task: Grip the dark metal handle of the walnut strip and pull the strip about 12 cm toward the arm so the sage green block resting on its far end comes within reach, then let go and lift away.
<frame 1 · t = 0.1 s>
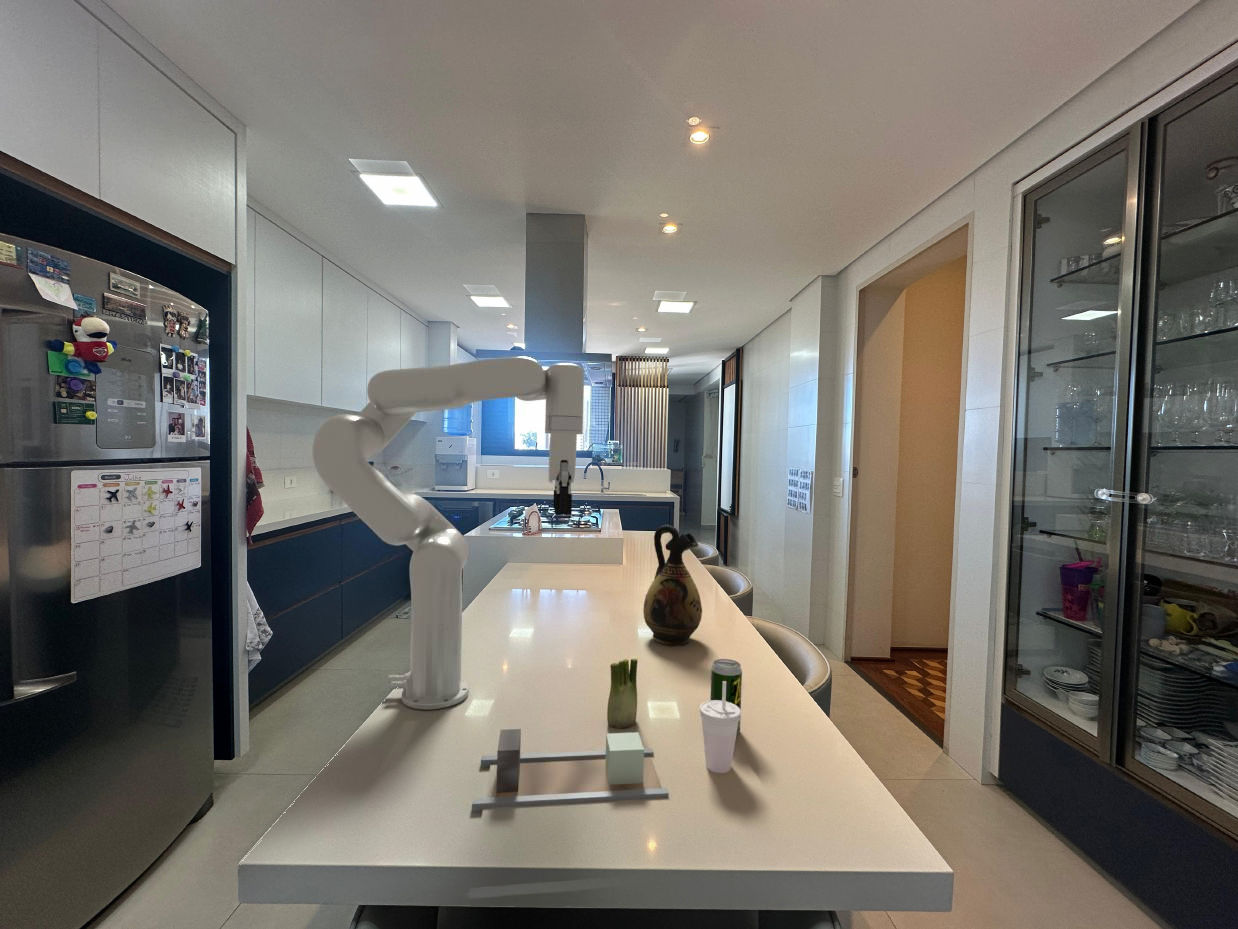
hand: (562, 511, 113), 37 cm above the worktop, tool pointing down, fingers open, 9 cm apart
block: (623, 774, 84), point 1 cm above the worktop, touching strip
strip: (577, 758, 83), point 3 cm above the worktop, slide at 0.0 cm, touching block
smoothie: (718, 771, 87), on the worktop
lane rails: (570, 781, 83), on the worktop
ceramic jug: (669, 639, 149), on the worktop
fennel bulb: (622, 727, 101), on the worktop
beer can: (724, 732, 100), on the worktop
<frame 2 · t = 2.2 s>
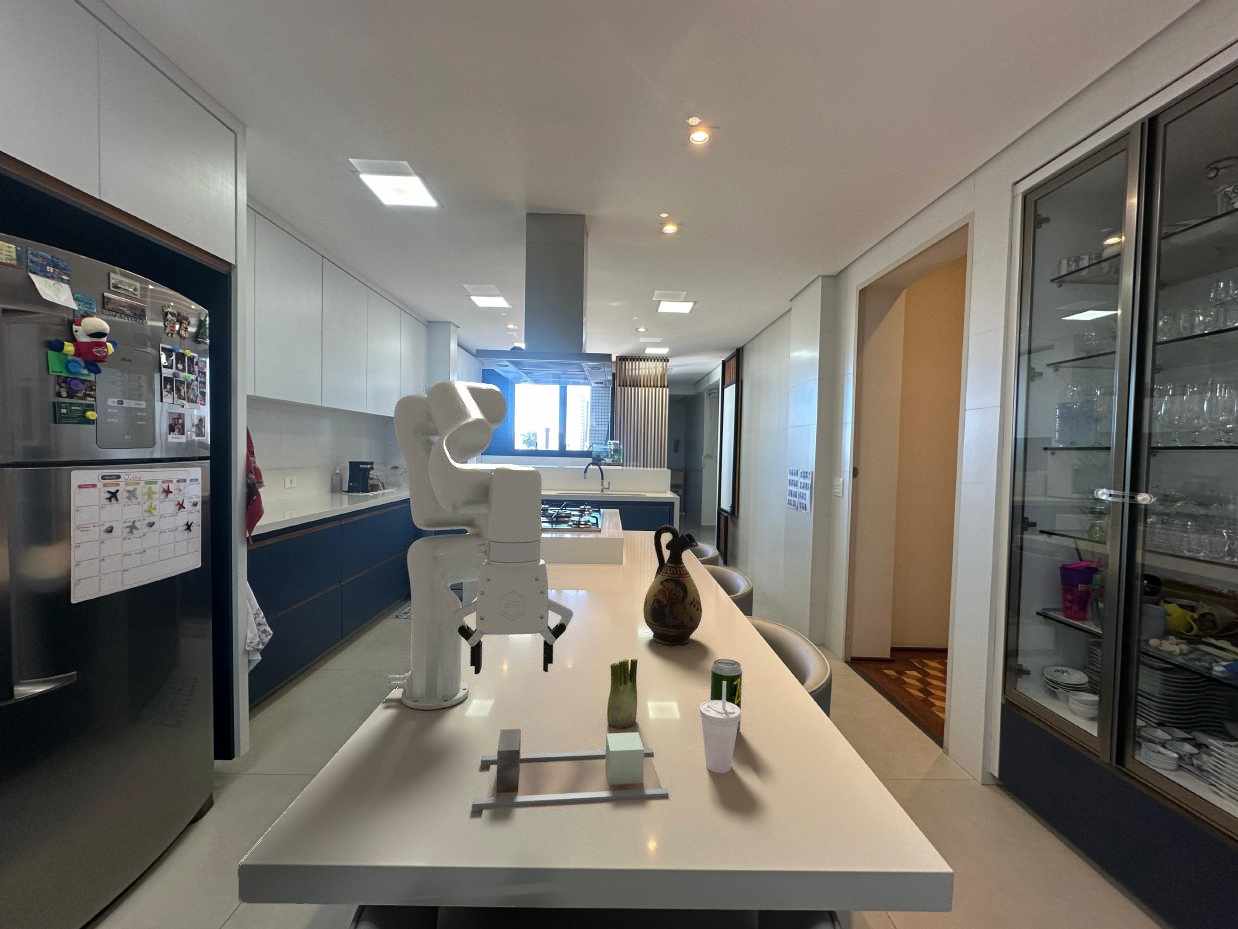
hand: (512, 669, 82), 17 cm above the worktop, tool pointing down, fingers open, 9 cm apart
nothing on the worktop moved.
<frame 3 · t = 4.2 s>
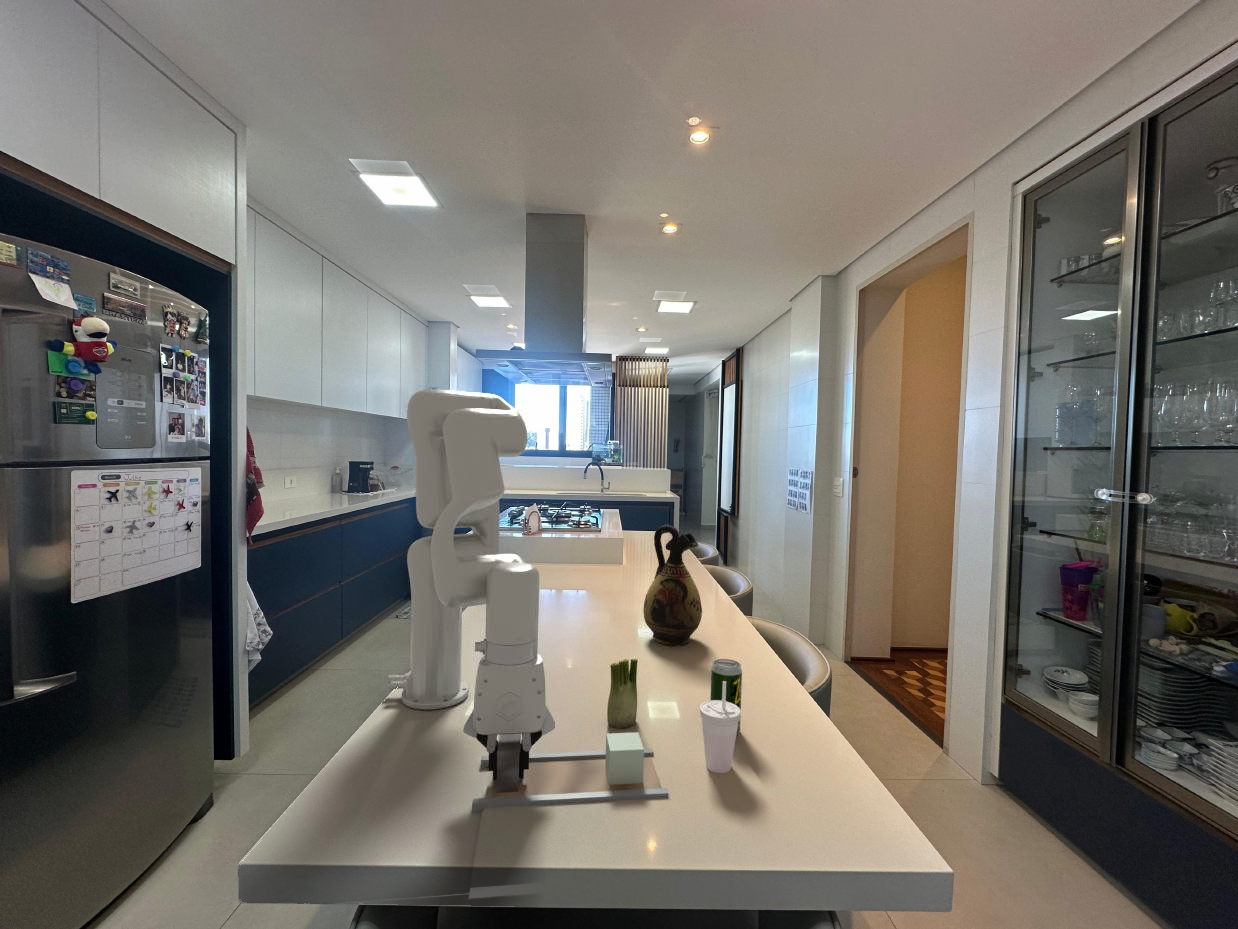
hand: (508, 773, 82), 2 cm above the worktop, tool pointing down, fingers closed on strip, 3 cm apart
strip: (577, 758, 83), point 3 cm above the worktop, slide at 0.0 cm, touching block, gripper
everything else where it was.
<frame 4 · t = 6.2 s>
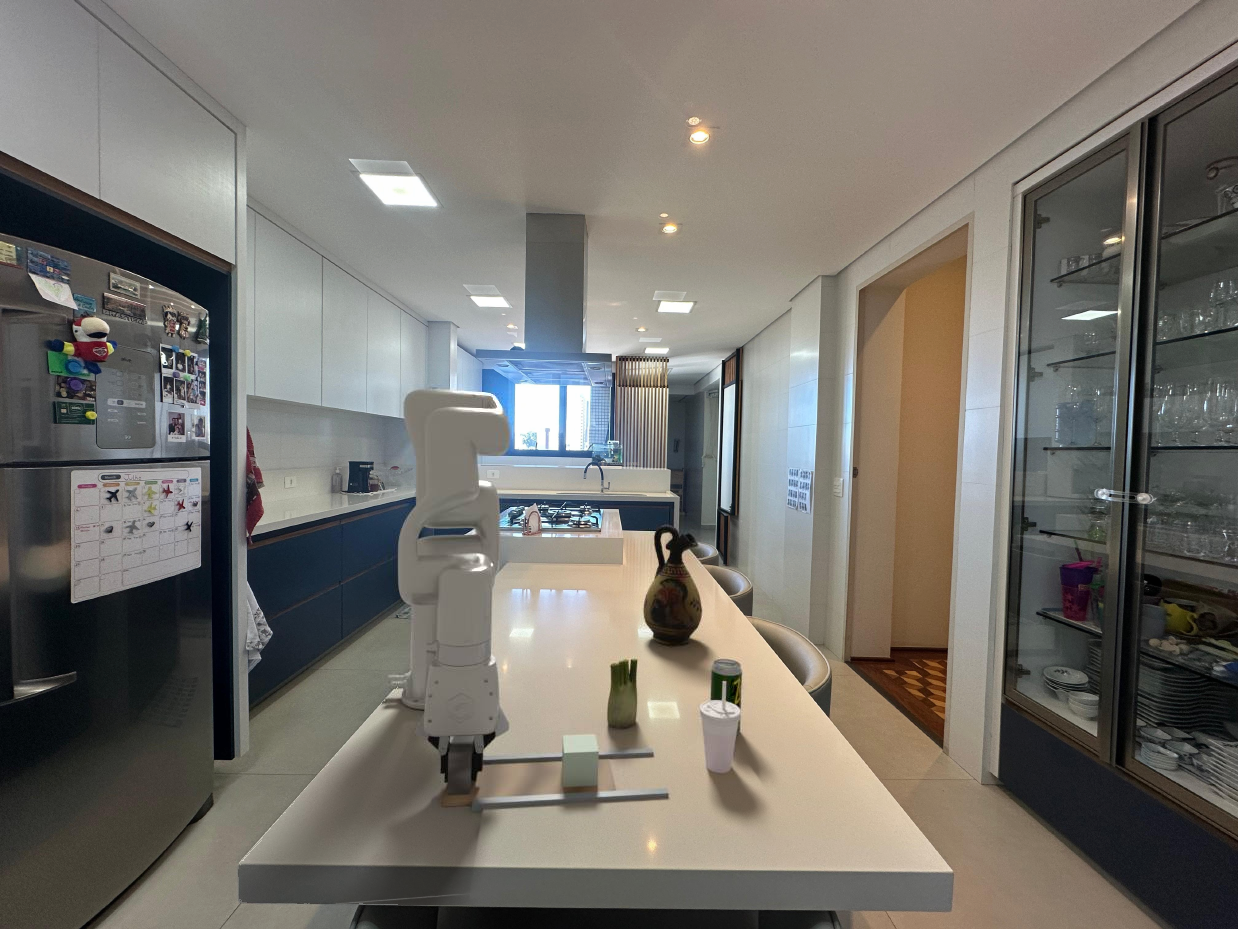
hand: (461, 775, 81), 2 cm above the worktop, tool pointing down, fingers closed on strip, 3 cm apart
block: (579, 776, 84), point 1 cm above the worktop, touching strip
strip: (532, 760, 83), point 3 cm above the worktop, slide at 6.7 cm, touching block, gripper
everything else where it was.
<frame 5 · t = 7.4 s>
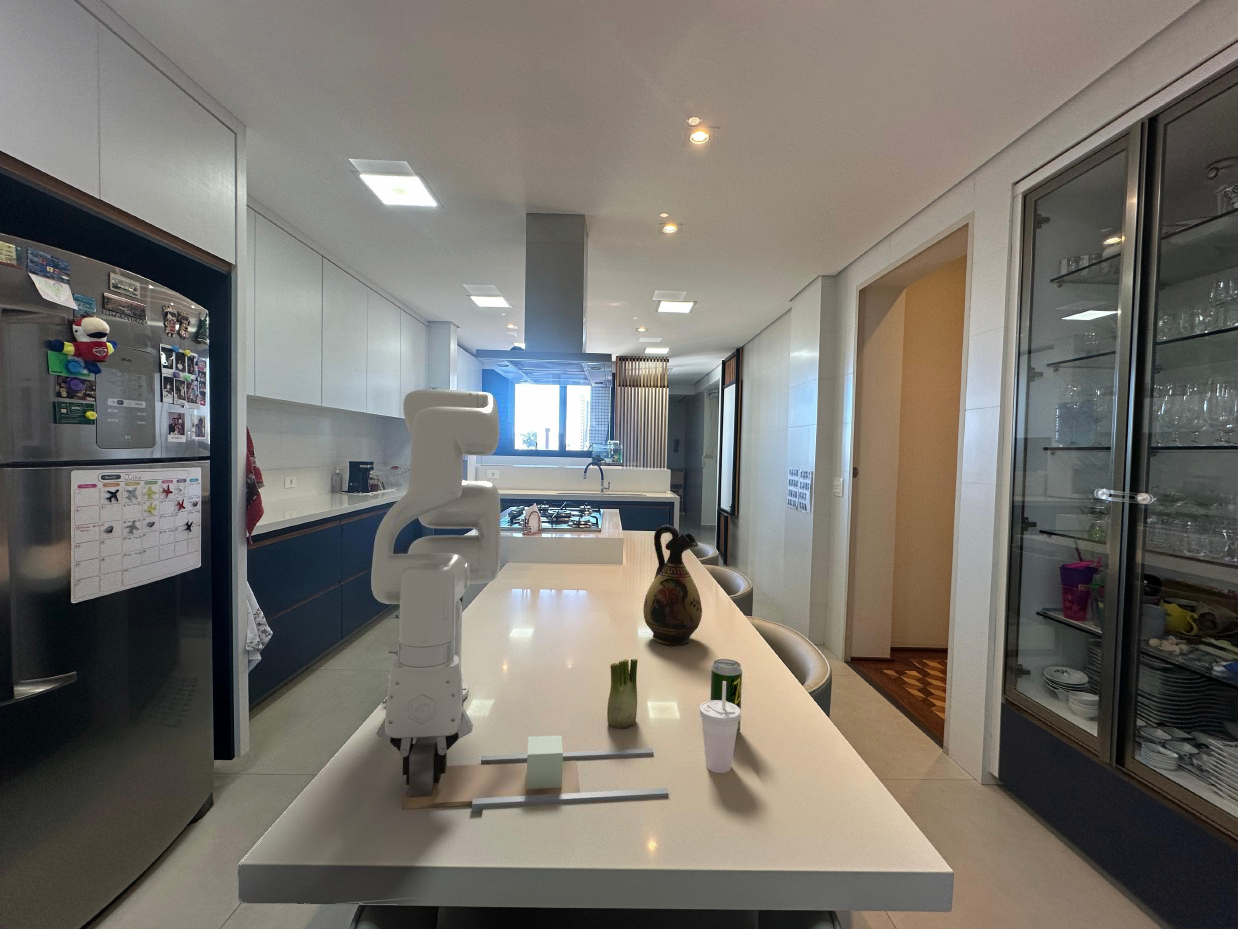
hand: (424, 777, 81), 2 cm above the worktop, tool pointing down, fingers closed on strip, 3 cm apart
block: (544, 778, 83), point 1 cm above the worktop, touching strip
strip: (496, 762, 82), point 3 cm above the worktop, slide at 11.8 cm, touching block, gripper
everything else where it was.
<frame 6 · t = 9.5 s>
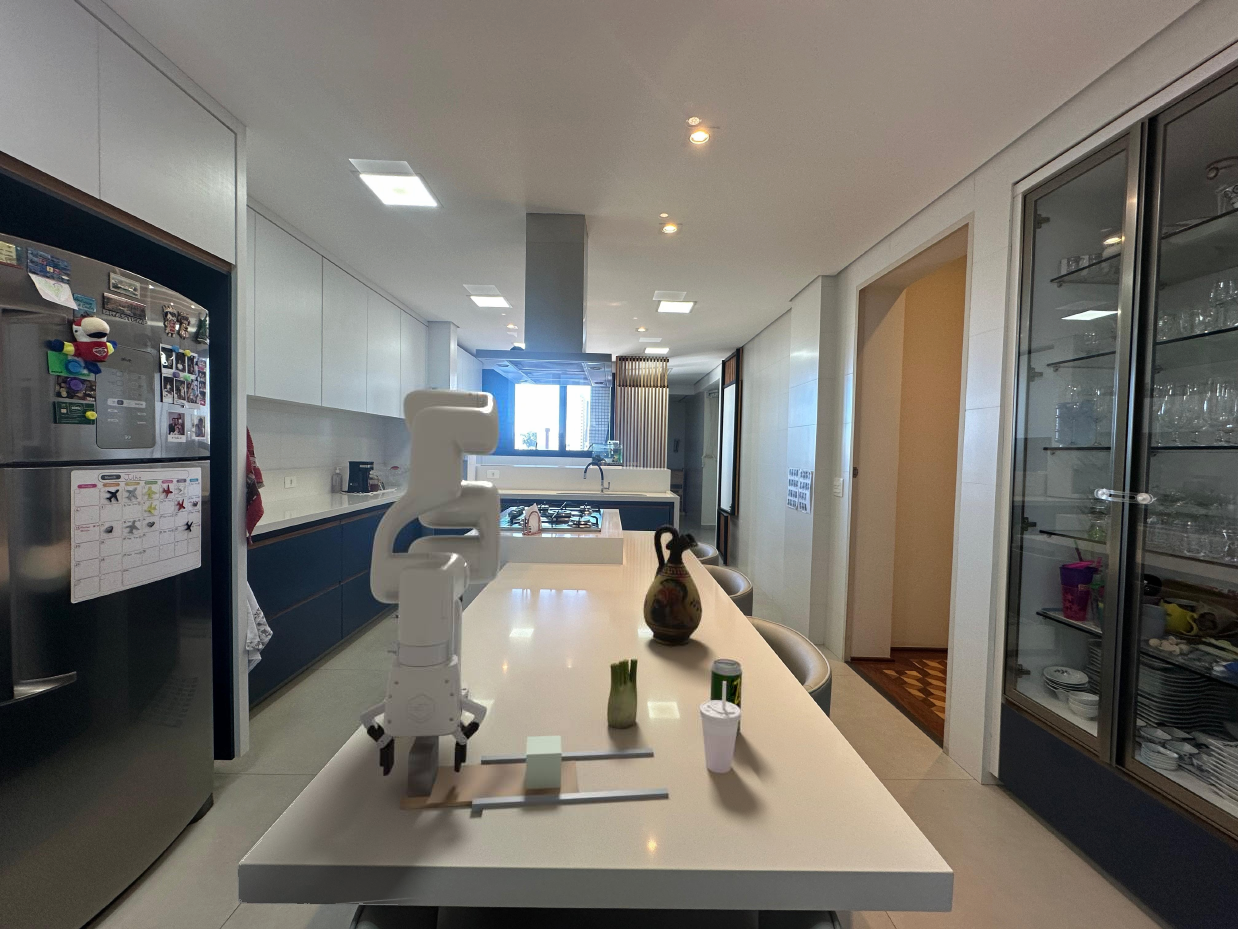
hand: (423, 768, 81), 3 cm above the worktop, tool pointing down, fingers open, 9 cm apart
strip: (495, 762, 82), point 3 cm above the worktop, slide at 12.0 cm, touching block
everything else where it was.
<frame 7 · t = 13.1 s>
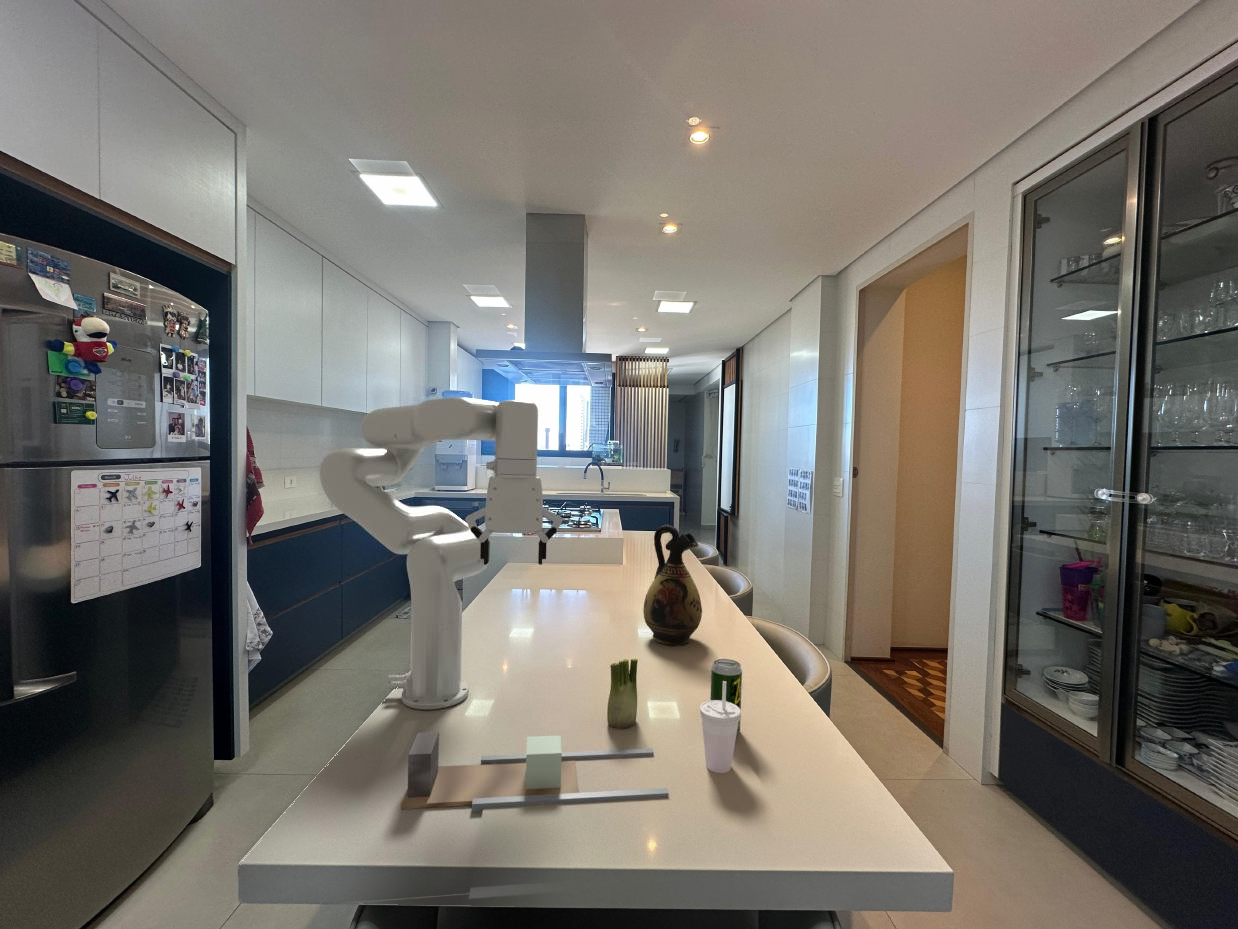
hand: (513, 563, 102), 28 cm above the worktop, tool pointing down, fingers open, 9 cm apart
nothing on the worktop moved.
at the end: strip slide at 12.0 cm; block inside the target area (1.5 cm from its centre), point 0.7 cm above the worktop; block tilted 0° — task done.
